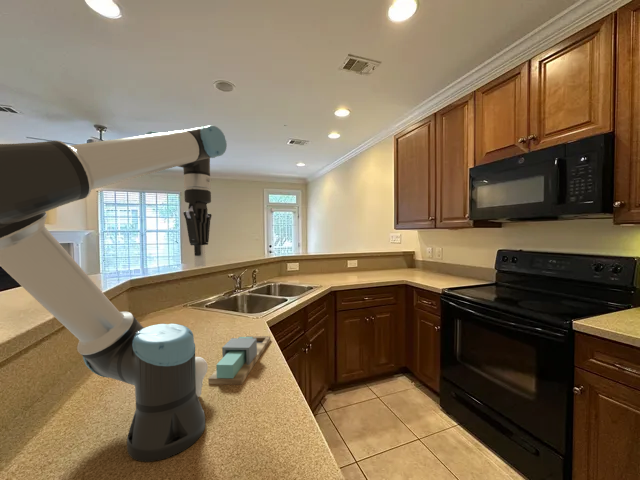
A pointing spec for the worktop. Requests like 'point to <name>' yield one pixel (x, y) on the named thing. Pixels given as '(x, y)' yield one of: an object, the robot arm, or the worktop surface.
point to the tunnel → (242, 347)
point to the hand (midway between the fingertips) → (200, 266)
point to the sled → (231, 363)
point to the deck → (245, 369)
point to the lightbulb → (200, 373)
